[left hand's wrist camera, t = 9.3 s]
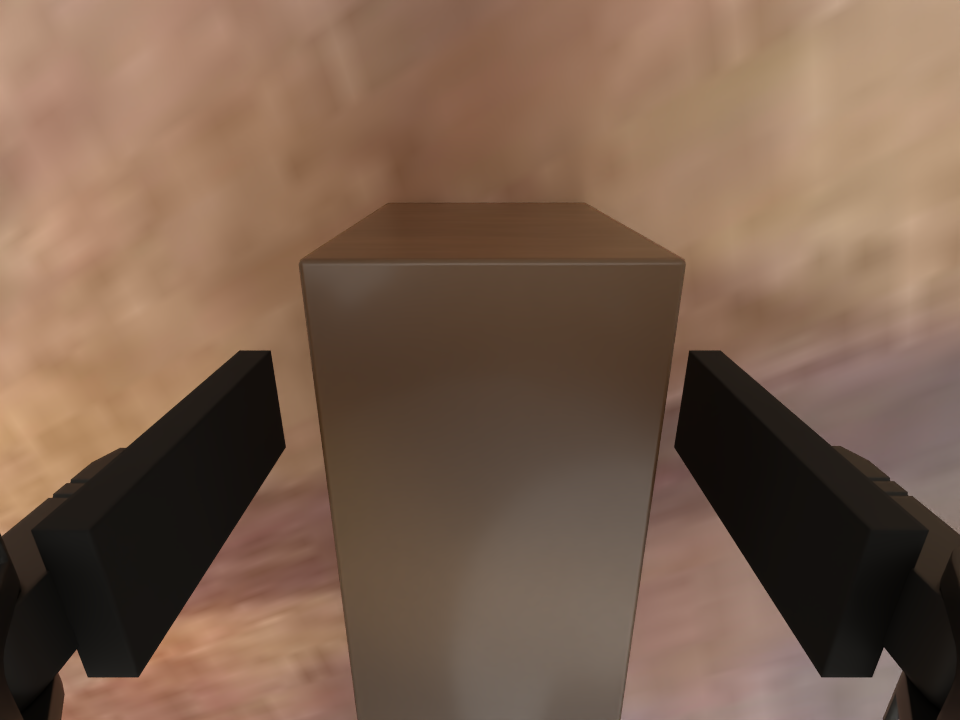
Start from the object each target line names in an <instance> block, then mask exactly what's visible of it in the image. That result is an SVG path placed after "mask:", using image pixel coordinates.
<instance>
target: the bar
mask: <svg viewBox="0 0 960 720" xmlns="http://www.w3.org/2000/svg"><path fill="white" fill-rule="evenodd" d="M685 265H686V263H685V260H684V259H683V258H681V257H679V256H678V255H676V254H674V253H672V252H671V251H669V250H667V249H665V248H664V247H662V246H660V245H658V244H657V243H655V242H653V241H651V240H649V239H648V238H646V237H644V236H642V235H641V234H639V233H637V232H635V231H634V230H632V229H630V228H628V227H627V226H625V225H623V224H621V223H620V222H618V221H616V220H614V219H613V218H611V217H609V216H607V215H606V214H604V213H602V212H600V211H598V210H597V209H595V208H593V207H591V206H590V205H588V204H586V203H388V204H386V205H384V206H383V207H381V208H380V209H378V210H377V211H375V212H373V213H372V214H370V215H369V216H367V217H366V218H364V219H363V220H361V221H359V222H358V223H356V224H355V225H353V226H352V227H350V228H349V229H347V230H346V231H344V232H342V233H341V234H339V235H338V236H336V237H335V238H333V239H332V240H330V241H329V242H327V243H325V244H324V245H322V246H321V247H319V248H318V249H316V250H315V251H313V252H312V253H310V254H308V255H307V256H305V257H304V258H302V259H301V260H300V262H299V270H300V278H301V286H302V293H303V301H304V309H305V317H306V324H307V332H308V340H309V348H310V355H311V363H312V371H313V379H314V386H315V394H316V402H317V409H318V417H319V425H320V433H321V440H322V448H323V456H324V464H325V471H326V479H327V487H328V495H329V502H330V510H331V518H332V525H333V533H334V541H335V549H336V556H337V564H338V572H339V580H340V587H341V595H342V603H343V611H344V618H345V626H346V634H347V642H348V649H349V657H350V665H351V672H352V680H353V688H354V696H355V703H356V711H357V719H358V720H620V719H621V712H622V705H623V698H624V691H625V684H626V677H627V670H628V663H629V656H630V649H631V642H632V635H633V628H634V621H635V614H636V607H637V600H638V593H639V586H640V579H641V572H642V565H643V558H644V551H645V544H646V537H647V530H648V523H649V516H650V509H651V502H652V495H653V488H654V481H655V474H656V467H657V460H658V453H659V446H660V439H661V432H662V425H663V418H664V411H665V405H666V398H667V391H668V384H669V377H670V370H671V363H672V356H673V349H674V342H675V335H676V328H677V321H678V314H679V307H680V300H681V293H682V286H683V279H684V272H685Z"/></svg>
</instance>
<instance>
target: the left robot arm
mask: <svg viewBox="0 0 960 720" xmlns="http://www.w3.org/2000/svg"><path fill="white" fill-rule="evenodd" d="M285 448H286V445H285V439H284V433H283V426H282V420H281V414H280V407H279V401H278V394H277V388H276V382H275V375H274V369H273V362H272V356H271V351H239V352H237V353H236V354H235V355H234V356H233V357H232V358H230V359H229V360H228V361H227V362H226V363H225V364H223V365H222V366H221V367H220V368H219V369H218V370H216V371H215V372H214V373H213V374H212V375H211V376H210V377H208V378H207V379H206V380H205V381H204V382H203V383H201V384H200V385H199V386H198V387H197V388H196V389H194V390H193V391H192V392H191V393H190V394H189V395H187V396H186V397H185V398H184V399H183V400H182V401H180V402H179V403H178V404H177V405H176V406H175V407H173V408H172V409H171V410H170V411H169V412H168V413H166V414H165V415H164V416H163V417H162V418H161V419H160V420H158V421H157V422H156V423H155V424H154V425H153V426H151V427H150V428H149V429H148V430H147V431H146V432H144V433H143V434H142V435H141V436H140V437H139V438H137V439H136V440H135V441H134V442H133V443H132V444H130V445H129V446H128V447H127V448H119V449H117V450H115V451H113V452H111V453H109V454H107V455H106V456H104V457H102V458H100V459H98V460H96V461H94V462H92V463H91V464H89V465H88V466H87V467H86V468H85V469H83V470H82V471H81V472H80V473H78V474H77V475H76V476H75V477H74V478H72V479H71V483H66V484H65V485H64V486H63V487H61V488H60V489H59V490H58V491H57V492H55V493H54V494H53V498H48V499H47V500H46V501H44V502H43V503H42V504H41V505H40V506H38V507H37V508H36V509H35V510H33V511H32V512H31V513H30V514H29V515H27V516H26V517H25V518H24V519H22V520H21V521H20V522H19V523H18V524H16V525H15V526H14V527H13V528H11V529H10V530H9V531H8V532H7V533H5V534H4V535H3V536H2V537H1V534H0V720H61V717H62V709H63V702H64V689H63V684H62V681H61V678H60V676H59V674H58V672H59V671H60V670H61V668H62V667H63V666H64V664H65V663H66V662H67V661H68V659H69V658H70V657H71V656H72V654H73V653H74V652H75V651H76V649H77V651H78V653H79V656H80V658H81V661H82V663H83V666H84V669H85V671H86V674H87V676H88V677H139V676H140V674H141V673H142V671H143V669H144V668H145V666H146V665H147V663H148V662H149V660H150V658H151V657H152V655H153V654H154V652H155V651H156V649H157V648H158V646H159V644H160V643H161V641H162V640H163V638H164V637H165V635H166V634H167V632H168V630H169V629H170V627H171V626H172V624H173V623H174V621H175V619H176V618H177V616H178V615H179V613H180V612H181V610H182V609H183V607H184V605H185V604H186V602H187V601H188V599H189V598H190V596H191V594H192V593H193V591H194V590H195V588H196V587H197V585H198V584H199V582H200V580H201V579H202V577H203V576H204V574H205V573H206V571H207V569H208V568H209V566H210V565H211V563H212V562H213V560H214V559H215V557H216V555H217V554H218V552H219V551H220V549H221V548H222V546H223V544H224V543H225V541H226V540H227V538H228V537H229V535H230V534H231V532H232V530H233V529H234V527H235V526H236V524H237V523H238V521H239V519H240V518H241V516H242V515H243V513H244V512H245V510H246V509H247V507H248V505H249V504H250V502H251V501H252V499H253V498H254V496H255V494H256V493H257V491H258V490H259V488H260V487H261V485H262V484H263V482H264V480H265V479H266V477H267V476H268V474H269V473H270V471H271V470H272V468H273V466H274V465H275V463H276V462H277V460H278V459H279V457H280V455H281V454H282V452H283V451H284V449H285ZM674 448H675V449H676V451H677V452H678V454H679V455H680V457H681V459H682V460H683V462H684V463H685V465H686V466H687V468H688V470H689V471H690V473H691V474H692V476H693V477H694V479H695V480H696V482H697V484H698V485H699V487H700V488H701V490H702V491H703V493H704V495H705V496H706V498H707V499H708V501H709V502H710V504H711V505H712V507H713V509H714V510H715V512H716V513H717V515H718V516H719V518H720V520H721V521H722V523H723V524H724V526H725V527H726V529H727V530H728V532H729V534H730V535H731V537H732V538H733V540H734V541H735V543H736V544H737V546H738V548H739V549H740V551H741V552H742V554H743V555H744V557H745V559H746V560H747V562H748V563H749V565H750V566H751V568H752V569H753V571H754V573H755V574H756V576H757V577H758V579H759V580H760V582H761V584H762V585H763V587H764V588H765V590H766V591H767V593H768V594H769V596H770V598H771V599H772V601H773V602H774V604H775V605H776V607H777V609H778V610H779V612H780V613H781V615H782V616H783V618H784V619H785V621H786V623H787V624H788V626H789V627H790V629H791V630H792V632H793V634H794V635H795V637H796V638H797V640H798V641H799V643H800V644H801V646H802V648H803V649H804V651H805V652H806V654H807V655H808V657H809V659H810V660H811V662H812V663H813V665H814V666H815V668H816V669H817V671H818V673H819V674H820V676H821V677H872V676H873V674H874V671H875V669H876V666H877V663H878V661H879V658H880V656H881V653H882V651H883V648H885V649H886V650H887V651H888V653H889V654H890V655H891V656H892V658H893V659H894V660H895V661H896V663H897V664H898V665H899V666H900V668H901V669H902V670H903V671H902V674H901V676H900V678H899V681H898V683H897V686H896V688H895V690H894V693H893V695H892V698H891V700H890V702H889V705H888V707H887V710H886V712H885V714H884V717H883V720H898V719H899V720H960V535H959V534H958V533H957V532H956V531H954V530H953V529H952V528H951V527H950V526H948V525H947V524H946V523H945V522H943V521H942V520H941V519H940V518H939V517H937V516H936V515H935V514H934V513H932V512H931V511H930V510H929V509H927V508H926V507H925V506H924V505H923V504H921V503H920V502H919V501H918V500H916V499H915V498H914V497H913V496H908V494H907V493H908V492H907V491H905V490H904V489H903V488H902V487H900V486H899V485H898V484H897V483H896V482H894V481H890V478H889V477H888V476H887V475H886V474H885V473H883V472H882V471H881V470H880V469H878V468H877V467H876V466H875V465H873V464H872V463H871V462H870V461H868V460H866V459H865V458H863V457H861V456H859V455H857V454H855V453H853V452H851V451H849V450H847V449H845V448H843V447H841V446H831V445H830V444H828V443H827V442H826V441H825V440H824V439H823V438H821V437H820V436H819V435H818V434H817V433H816V432H814V431H813V430H812V429H811V428H810V427H809V426H807V425H806V424H805V423H804V422H803V421H802V420H800V419H799V418H798V417H797V416H796V415H795V414H793V413H792V412H791V411H790V410H789V409H788V408H787V407H785V406H784V405H783V404H782V403H781V402H780V401H778V400H777V399H776V398H775V397H774V396H773V395H771V394H770V393H769V392H768V391H767V390H766V389H764V388H763V387H762V386H761V385H760V384H759V383H757V382H756V381H755V380H754V379H753V378H752V377H750V376H749V375H748V374H747V373H746V372H745V371H743V370H742V369H741V368H740V367H739V366H738V365H737V364H735V363H734V362H733V361H732V360H731V359H730V358H728V357H727V356H726V355H725V354H724V353H723V352H721V351H689V356H688V362H687V369H686V375H685V382H684V388H683V394H682V401H681V407H680V413H679V420H678V426H677V433H676V439H675V445H674Z"/></svg>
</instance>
